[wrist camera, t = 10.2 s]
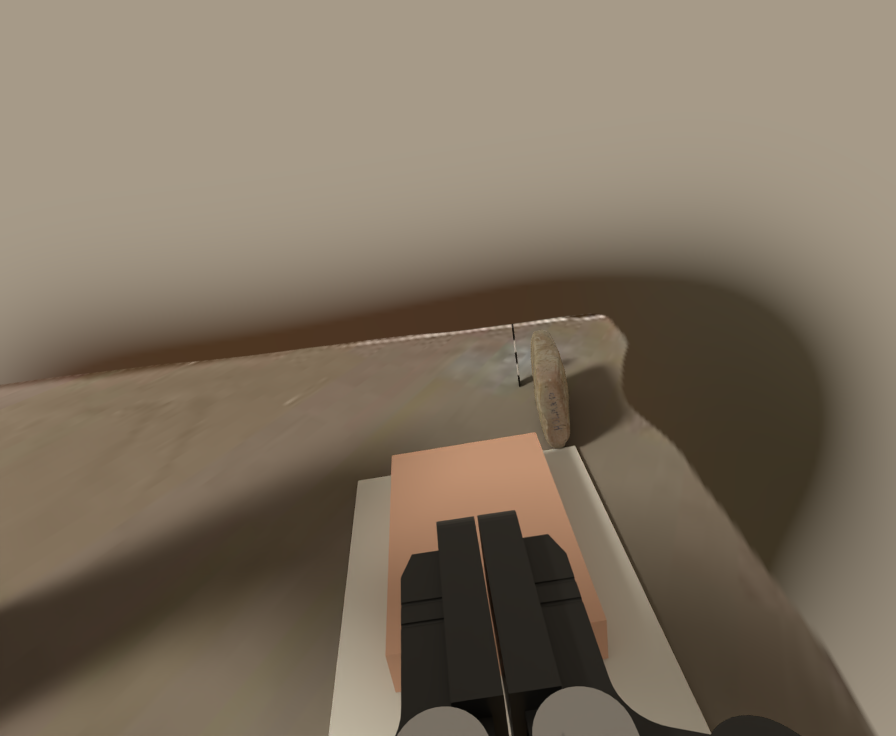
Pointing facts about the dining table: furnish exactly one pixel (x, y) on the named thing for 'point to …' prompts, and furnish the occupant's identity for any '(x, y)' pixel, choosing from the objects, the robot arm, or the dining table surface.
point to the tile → (470, 494)
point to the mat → (379, 707)
